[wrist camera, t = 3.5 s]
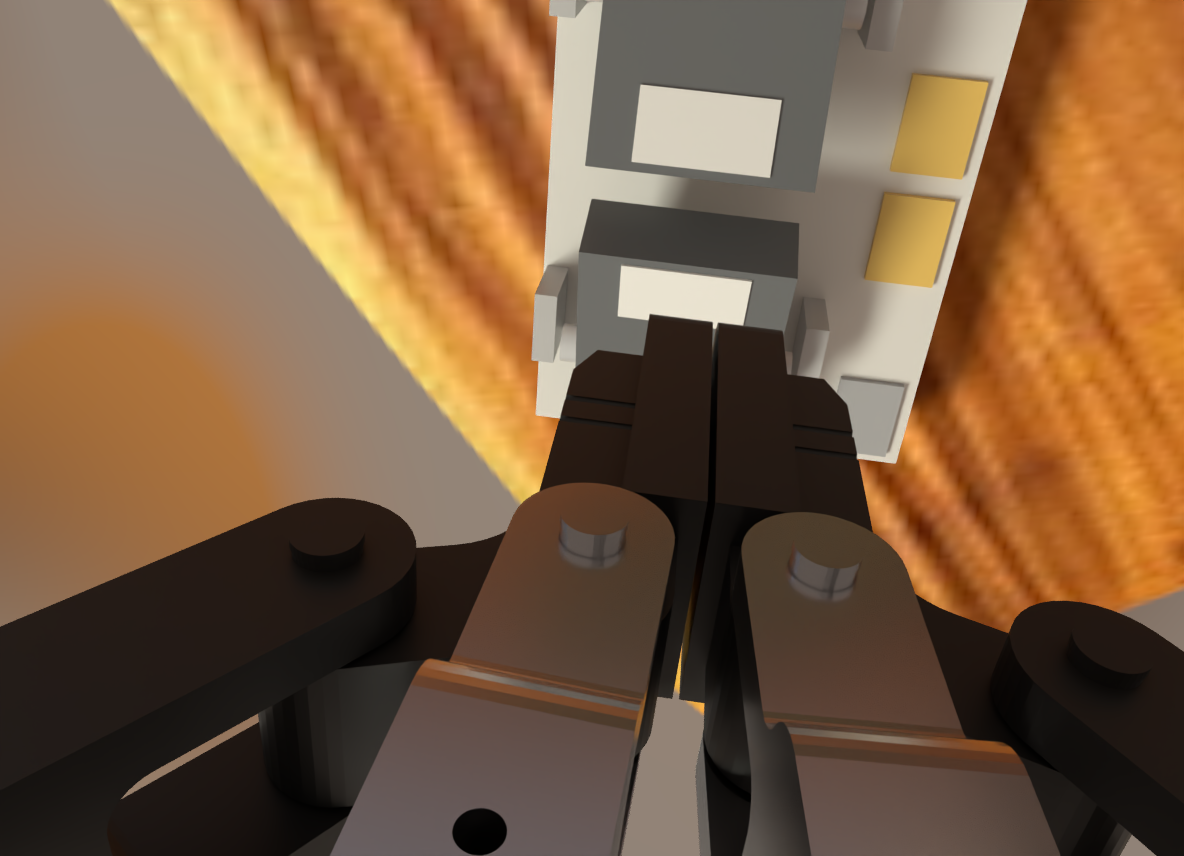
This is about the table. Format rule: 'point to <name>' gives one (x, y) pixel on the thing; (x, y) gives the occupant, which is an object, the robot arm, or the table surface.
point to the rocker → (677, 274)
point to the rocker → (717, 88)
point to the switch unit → (820, 199)
